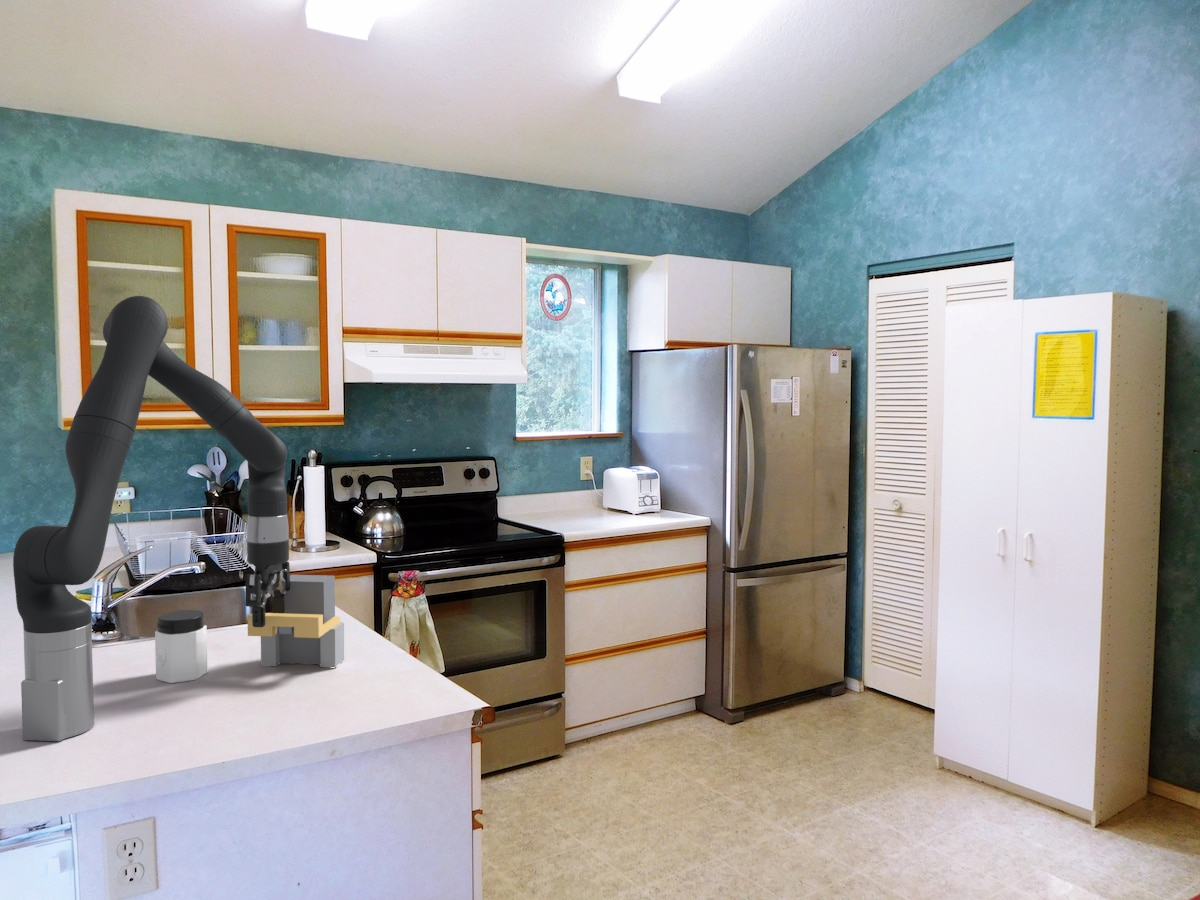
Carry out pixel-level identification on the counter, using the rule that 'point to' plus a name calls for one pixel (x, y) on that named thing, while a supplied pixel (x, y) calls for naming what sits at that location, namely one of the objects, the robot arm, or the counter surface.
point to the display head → (285, 648)
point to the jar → (181, 646)
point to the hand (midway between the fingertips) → (269, 620)
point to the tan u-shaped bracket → (293, 624)
